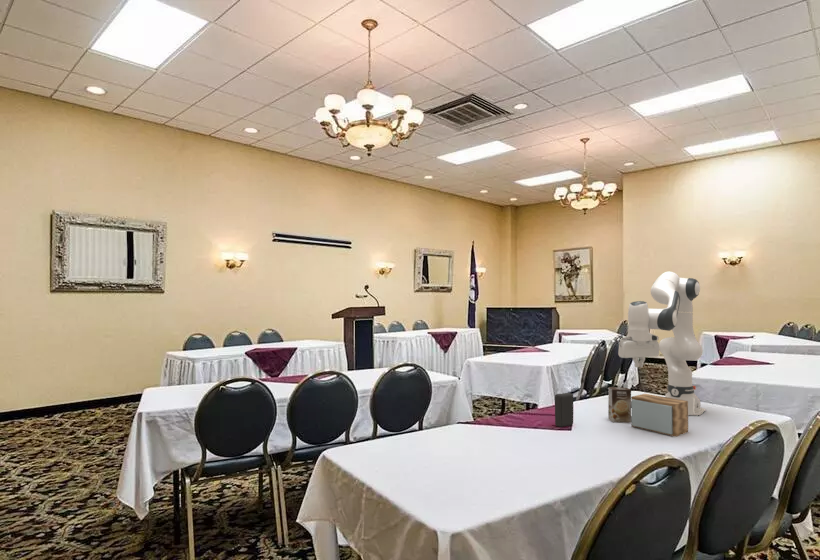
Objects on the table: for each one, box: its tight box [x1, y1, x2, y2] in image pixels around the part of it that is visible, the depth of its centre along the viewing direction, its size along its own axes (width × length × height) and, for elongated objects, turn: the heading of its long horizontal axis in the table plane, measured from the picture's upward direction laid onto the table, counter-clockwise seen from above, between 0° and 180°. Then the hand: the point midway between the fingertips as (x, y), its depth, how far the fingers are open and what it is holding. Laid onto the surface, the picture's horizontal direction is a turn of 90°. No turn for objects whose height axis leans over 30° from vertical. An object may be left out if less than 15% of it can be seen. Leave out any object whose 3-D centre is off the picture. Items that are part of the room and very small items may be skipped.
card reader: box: [554, 392, 574, 428], centre depth 233 cm, size 9×4×15 cm, turn 119°
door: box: [630, 399, 673, 434], centre depth 223 cm, size 1×19×12 cm, turn 36°
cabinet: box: [631, 393, 689, 438], centre depth 227 cm, size 12×20×14 cm, turn 36°
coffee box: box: [607, 386, 632, 424], centre depth 241 cm, size 9×6×16 cm
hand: (638, 367), depth 224 cm, fingers closed
